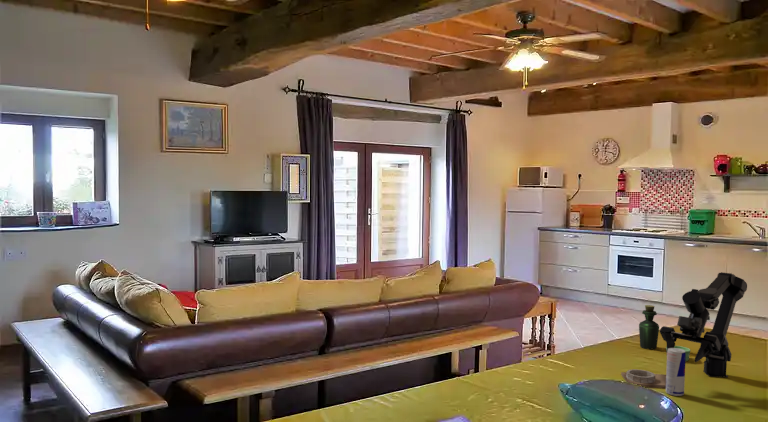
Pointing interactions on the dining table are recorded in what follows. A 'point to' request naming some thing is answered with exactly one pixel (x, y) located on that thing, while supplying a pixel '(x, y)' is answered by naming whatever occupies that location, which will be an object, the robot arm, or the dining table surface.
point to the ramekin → (685, 351)
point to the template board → (645, 378)
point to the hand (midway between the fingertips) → (681, 358)
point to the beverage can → (675, 371)
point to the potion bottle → (648, 329)
